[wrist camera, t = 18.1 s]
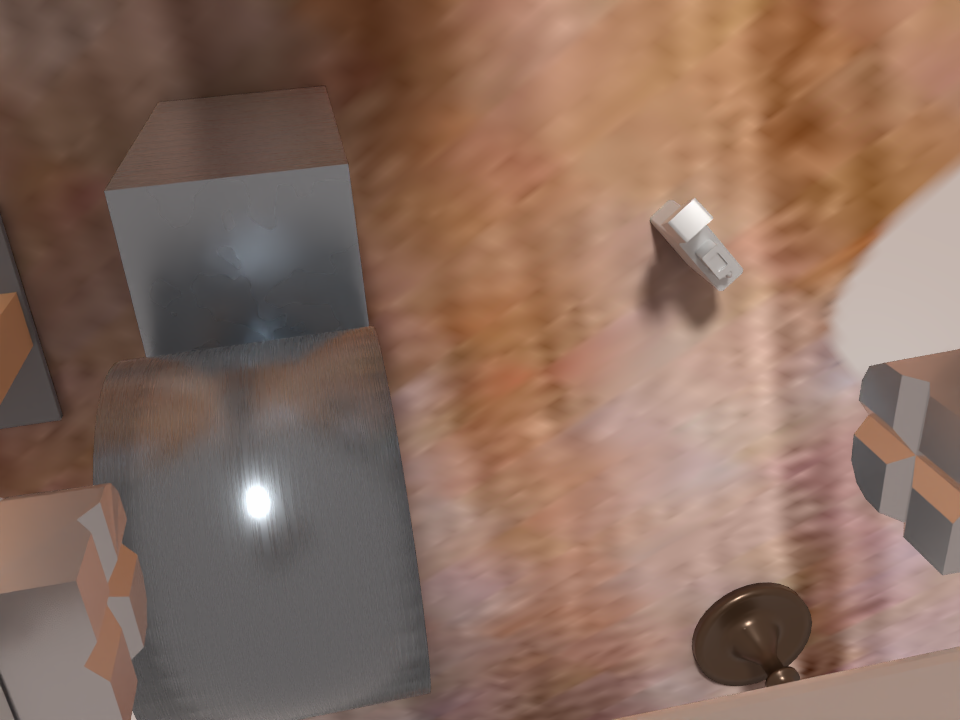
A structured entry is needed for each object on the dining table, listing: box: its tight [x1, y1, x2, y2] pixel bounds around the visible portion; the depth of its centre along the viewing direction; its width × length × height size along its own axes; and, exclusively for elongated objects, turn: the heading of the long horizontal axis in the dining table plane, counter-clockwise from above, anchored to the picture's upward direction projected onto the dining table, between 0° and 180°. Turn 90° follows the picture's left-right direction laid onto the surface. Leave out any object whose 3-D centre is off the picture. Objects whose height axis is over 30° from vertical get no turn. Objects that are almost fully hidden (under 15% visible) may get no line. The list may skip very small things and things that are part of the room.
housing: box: [93, 86, 431, 720], centre depth 37 cm, size 8×20×28 cm, turn 4°
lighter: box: [650, 198, 743, 291], centre depth 48 cm, size 7×2×8 cm, turn 43°
